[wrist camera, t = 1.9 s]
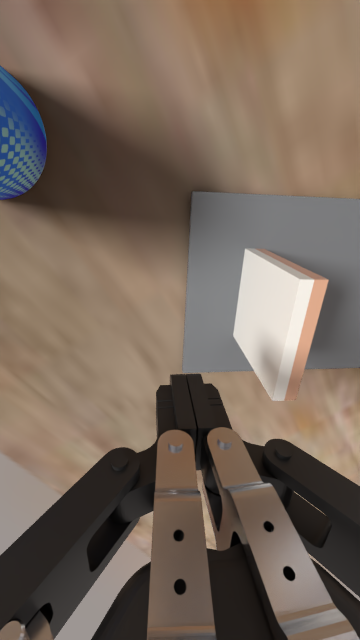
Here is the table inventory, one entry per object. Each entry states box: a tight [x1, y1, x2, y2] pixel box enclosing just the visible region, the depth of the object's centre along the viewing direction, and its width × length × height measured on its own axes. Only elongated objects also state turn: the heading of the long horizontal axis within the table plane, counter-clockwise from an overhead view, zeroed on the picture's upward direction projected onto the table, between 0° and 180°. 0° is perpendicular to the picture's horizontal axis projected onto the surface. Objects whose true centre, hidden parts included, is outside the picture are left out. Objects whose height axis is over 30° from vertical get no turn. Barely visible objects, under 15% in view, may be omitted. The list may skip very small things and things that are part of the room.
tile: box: [233, 248, 329, 401], centre depth 23 cm, size 9×2×10 cm, turn 178°
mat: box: [182, 191, 360, 373], centre depth 28 cm, size 18×22×1 cm
